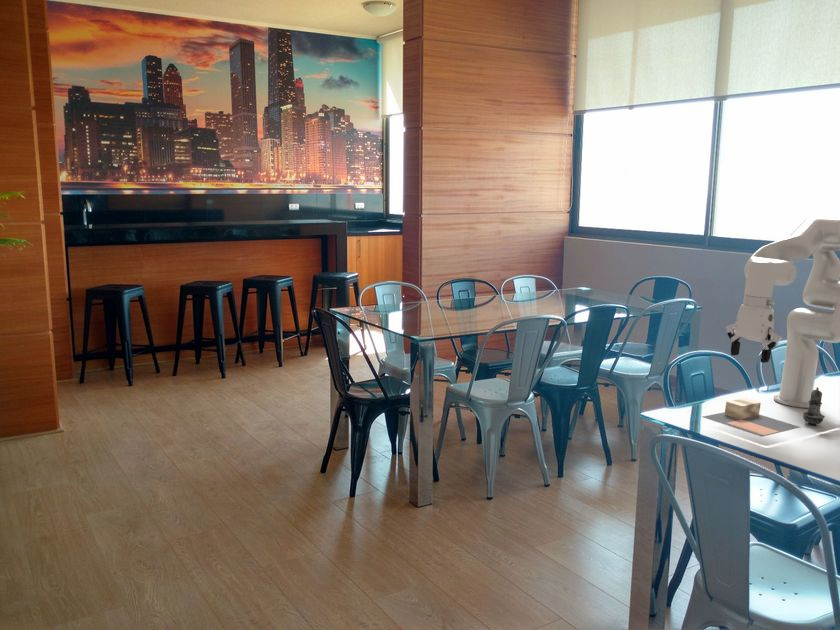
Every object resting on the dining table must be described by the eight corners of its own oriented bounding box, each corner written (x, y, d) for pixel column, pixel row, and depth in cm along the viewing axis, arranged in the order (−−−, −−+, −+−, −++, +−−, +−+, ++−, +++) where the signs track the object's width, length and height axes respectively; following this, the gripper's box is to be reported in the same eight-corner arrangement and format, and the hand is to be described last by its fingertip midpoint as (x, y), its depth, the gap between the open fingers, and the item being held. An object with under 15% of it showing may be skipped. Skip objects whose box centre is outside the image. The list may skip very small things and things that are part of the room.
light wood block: (743, 410, 225) (745, 398, 224) (758, 415, 221) (760, 402, 220) (724, 414, 219) (726, 401, 218) (739, 419, 215) (741, 406, 214)
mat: (741, 410, 227) (741, 408, 226) (800, 429, 211) (800, 426, 211) (701, 418, 216) (701, 416, 215) (761, 438, 200) (761, 436, 200)
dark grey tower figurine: (822, 425, 216) (828, 386, 214) (823, 431, 211) (830, 391, 209) (799, 422, 218) (805, 383, 216) (801, 427, 213) (807, 387, 211)
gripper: (792, 306, 209) (784, 364, 212) (738, 297, 223) (730, 351, 226) (777, 307, 205) (769, 366, 208) (723, 298, 219) (716, 353, 222)
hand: (749, 358), depth 217 cm, fingers open, 9 cm apart
